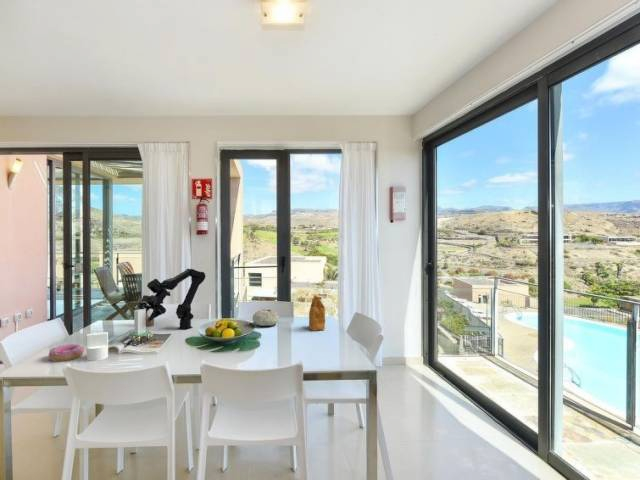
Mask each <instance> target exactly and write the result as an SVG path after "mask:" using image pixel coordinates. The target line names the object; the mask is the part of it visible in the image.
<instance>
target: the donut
mask: <svg viewBox="0 0 640 480" xmlns="http://www.w3.org/2000/svg"><path fill="white" fill-rule="evenodd" d="M84 351H85V350H84V347H83V345H81V344H77V343H72V344H64V345H59V346H56V347H53V348H51V349H50V350H49V353H48V358H49V359H50V360H51V361H53V362H67V361H72V360H75V359H78V358H80V357H82V355H83V354H84Z"/></svg>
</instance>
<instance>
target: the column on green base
mask: <svg viewBox="0 0 640 480" xmlns="http://www.w3.org/2000/svg"><path fill="white" fill-rule="evenodd" d="M133 314H134V315H133V316H134V317H133V318H134V322H133V323H134V326H133V327H134V330H133V332H129V333H128V335H129V336H130V335H131V336H133V337H141V336H147V335H148V334H150V335H151V334H152V332H151V331H148V330H147V329H146V327H147V326H146V309H139V310H138V309H134V310H133Z"/></svg>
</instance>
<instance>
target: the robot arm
mask: <svg viewBox="0 0 640 480" xmlns="http://www.w3.org/2000/svg"><path fill="white" fill-rule="evenodd" d="M190 277H191V284H190V286H189V289H188V290H187V293H186V295H185V298H184V300H183V302H182V303H179V304H178V306H177V307H176V309H175V310H176V312H175V315H176V316H177V319H179V327H178V329H180V330H183V331H184V330H185V331H186V330H188V329H192V328H193V326H192V320H193V319H194V314H193V313H192V311H191V310H192V307H191V305H192V303H193V300H194V298H195V296H196V293H197V291H198V289H199V286H200V285H202V283H203V282H204V281H205V280H206V273H205V272H204V271H199V270H195V269H193V268H186V269H185V270H184V271H182V272H180V273H179V274H177V275H176V276H174V277H172V278H171V277H170V278H167V279H164V280H163V281H161V282H160V281H159V280H158V278H153V280H151V281H149V282H148V283H147V285H146V287H147V288H148V289H149V290H150V291H151V292H152V293H153V294H155V295H153V294H151V295H145V294H143V296H142V297H141V298H142V301H146V303H147V304H146V303H145V302H139V303H138V302H137V308H138V307H139V309H146V313H147V314H148V311H149V310H152V311H151V314H150V315H149V319H148V321H151V320H152V319H154V320H155V318H158V317H159V316H162V315H164V314H165V313H166V312H167V308H166V307H164V305H163V304H164V300H165V299H166V297H171V291H172V290H174V289H175V288H176V287H178V284H179V283H181V282H183V281H185V280H186V279H188V278H190Z"/></svg>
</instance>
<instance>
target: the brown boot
mask: <svg viewBox="0 0 640 480" xmlns="http://www.w3.org/2000/svg"><path fill="white" fill-rule="evenodd" d="M142 298H143V297H141V298H139V299H137V304H138V303H139V302H145V303H146V301H142ZM146 304H147V303H146ZM147 305H148V304H147ZM137 310H139V307H138V306H137ZM149 317H150V315H148V312H147V313H146V327H152V326H154V325H155V318H154V319H152V320H151V321H148V319H149Z"/></svg>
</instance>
